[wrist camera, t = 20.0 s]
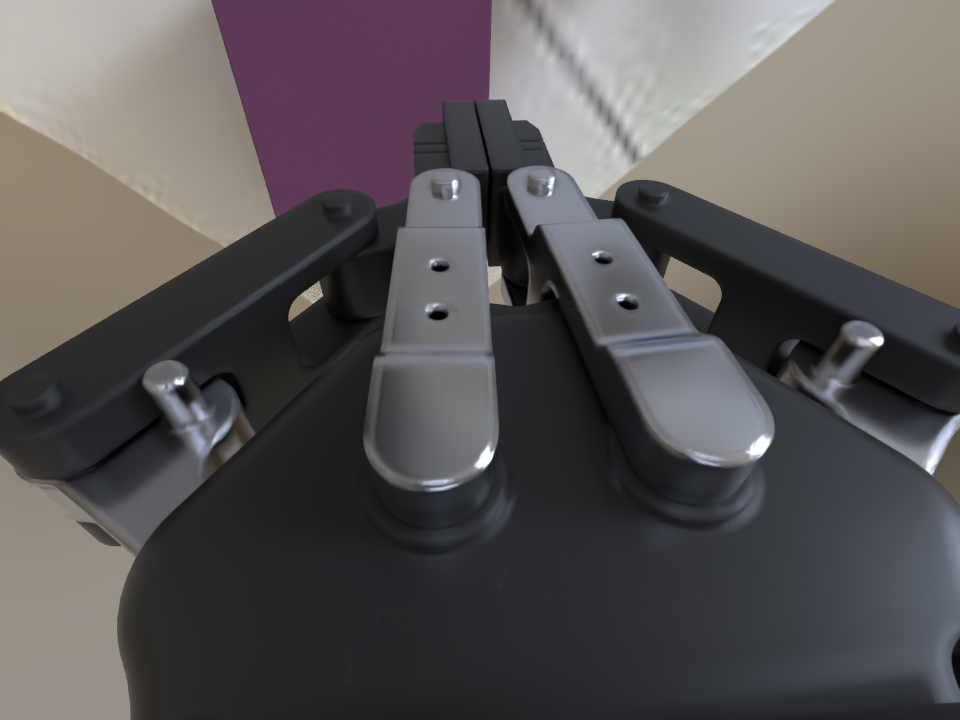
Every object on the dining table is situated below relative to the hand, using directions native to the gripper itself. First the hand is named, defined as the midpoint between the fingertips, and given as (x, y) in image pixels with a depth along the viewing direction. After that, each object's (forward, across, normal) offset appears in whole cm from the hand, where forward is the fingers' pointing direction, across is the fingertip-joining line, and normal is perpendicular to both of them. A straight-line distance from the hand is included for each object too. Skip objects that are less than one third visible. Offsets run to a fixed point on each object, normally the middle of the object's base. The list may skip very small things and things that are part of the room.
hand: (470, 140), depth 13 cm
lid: (+17, +4, +8) cm, 19 cm away
